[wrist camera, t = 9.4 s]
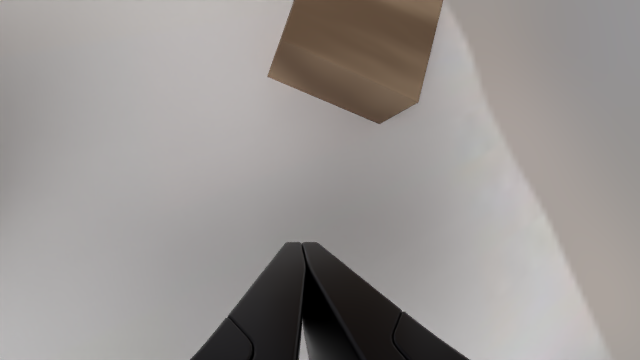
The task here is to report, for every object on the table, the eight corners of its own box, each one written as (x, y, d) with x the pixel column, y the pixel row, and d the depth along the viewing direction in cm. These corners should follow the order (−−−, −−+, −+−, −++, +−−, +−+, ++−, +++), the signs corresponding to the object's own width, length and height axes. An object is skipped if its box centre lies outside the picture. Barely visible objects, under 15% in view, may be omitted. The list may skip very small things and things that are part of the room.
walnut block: (418, 102, 16) (454, -48, 17) (281, 39, 14) (337, -122, 16) (378, 124, 19) (412, -2, 21) (267, 77, 18) (313, -56, 19)
